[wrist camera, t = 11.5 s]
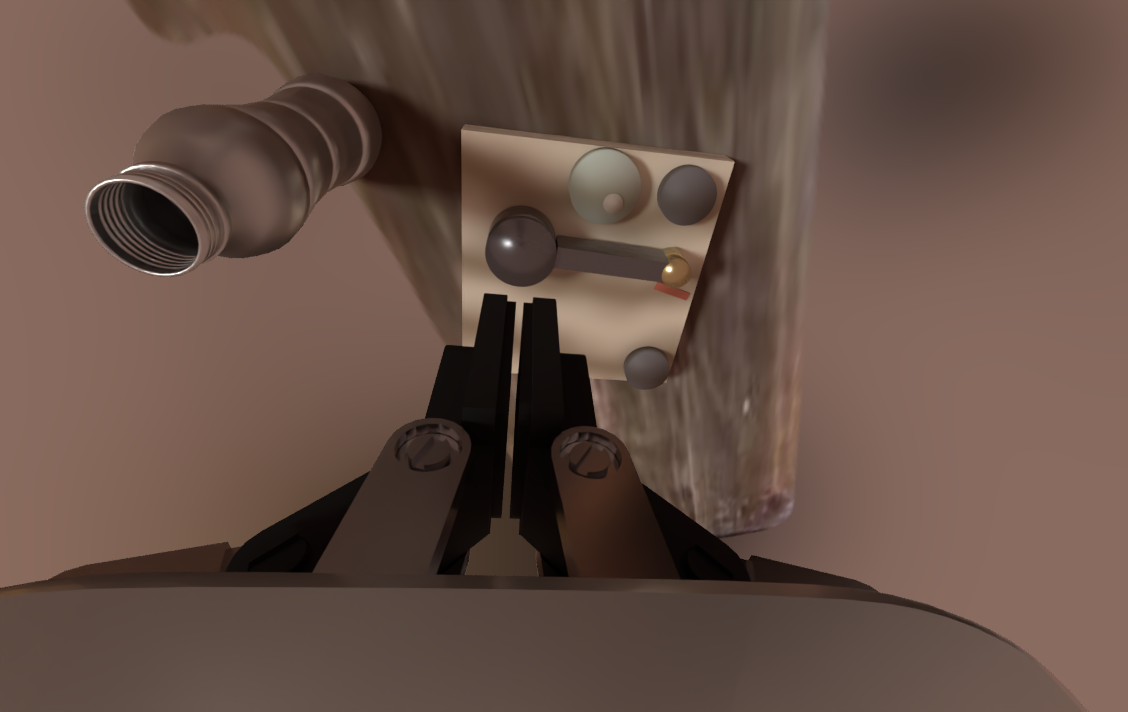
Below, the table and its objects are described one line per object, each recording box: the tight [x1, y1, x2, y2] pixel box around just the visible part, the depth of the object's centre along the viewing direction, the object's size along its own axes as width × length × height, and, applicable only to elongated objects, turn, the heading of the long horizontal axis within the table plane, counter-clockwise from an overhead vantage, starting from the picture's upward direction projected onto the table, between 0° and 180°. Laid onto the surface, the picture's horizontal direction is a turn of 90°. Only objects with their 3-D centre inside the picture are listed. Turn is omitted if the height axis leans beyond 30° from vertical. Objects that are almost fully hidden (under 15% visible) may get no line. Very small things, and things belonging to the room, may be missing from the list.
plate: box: [461, 124, 735, 390], centre depth 38 cm, size 20×19×3 cm
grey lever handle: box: [485, 205, 692, 288], centre depth 35 cm, size 15×5×3 cm, turn 80°
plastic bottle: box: [84, 74, 382, 277], centre depth 25 cm, size 6×7×20 cm
